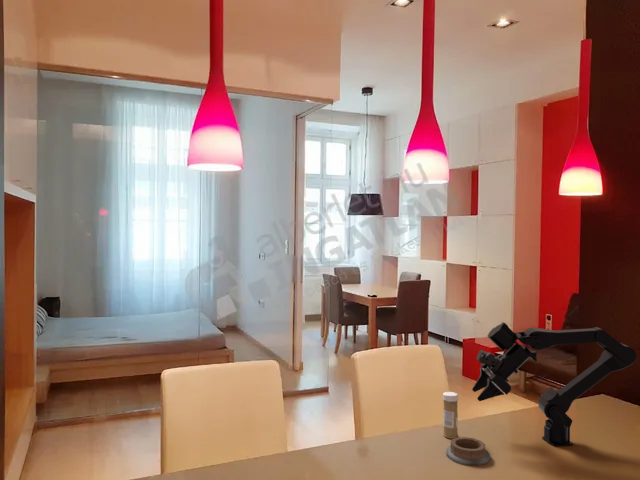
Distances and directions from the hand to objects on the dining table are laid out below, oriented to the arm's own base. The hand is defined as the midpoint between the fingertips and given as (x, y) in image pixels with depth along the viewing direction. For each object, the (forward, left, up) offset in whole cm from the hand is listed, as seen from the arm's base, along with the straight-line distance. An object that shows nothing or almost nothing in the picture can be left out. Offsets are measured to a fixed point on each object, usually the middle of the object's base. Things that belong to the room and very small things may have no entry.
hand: (475, 395), depth 159 cm
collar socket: (+8, +12, -13) cm, 20 cm away
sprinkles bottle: (+7, -2, -13) cm, 16 cm away
